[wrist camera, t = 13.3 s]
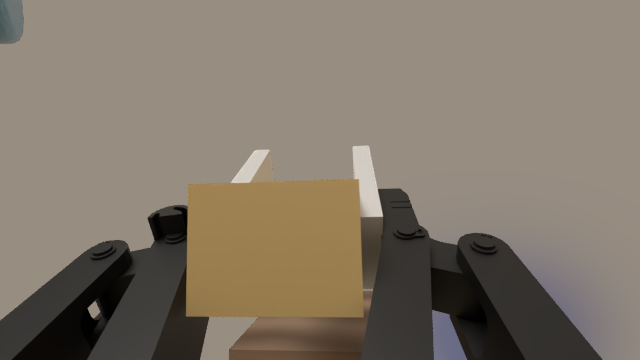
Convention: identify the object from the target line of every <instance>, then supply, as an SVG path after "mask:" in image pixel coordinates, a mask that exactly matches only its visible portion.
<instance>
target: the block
mask: <svg viewBox="0 0 640 360" xmlns="http://www.w3.org/2000/svg"><path fill="white" fill-rule="evenodd" d="M186 316H187V317H364V307H363V278H362V250H361V221H360V192H359V179H349V180H317V181H316V180H315V181H285V182H252V183H221V184H191V185H188V226H187V283H186Z"/></svg>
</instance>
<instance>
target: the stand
mask: <svg viewBox="0 0 640 360" xmlns="http://www.w3.org/2000/svg"><path fill="white" fill-rule="evenodd" d="M372 294H373V291H363V307H364V317H258V318H257V319H256V321H255V322H254V323H253V324H252V325H251V326H250V327H249V328H248V329H247V331H246V332H245V333H244V334H243V335H242V336H241V337H240V338H239V339H238V340H237V341H236V343H235V344H234V345H233V346H232V347H231V348H230V349H229V360H361V355H362V349H363V344H364V338H365V333H366V327H367V322H368V316H369V311H370V305H371V300H372Z"/></svg>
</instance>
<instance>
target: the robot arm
mask: <svg viewBox="0 0 640 360" xmlns="http://www.w3.org/2000/svg"><path fill="white" fill-rule="evenodd" d="M22 9H23V6H22V0H0V44H12V43H16V42H17V41H19V40H20V38H21V36H22V33H23V22H24V17H23V12H22ZM353 178H354V179H359V192H360V221H361V250H362V278H363V289H373V294H372V300H371V305H370V311H369V316H368V322H367V327H366V333H365V338H364V344H363V349H362V355H361V360H434V352H433V326H432V325H433V324H432V310H435V311H439V312H443V313H447V314H450V319H451V321H452V324H453V326H454V329H455V331H456V333H457V336H458V338H459V341H460V343H461V346H462V348H463V350H464V353H465V355H466V358H467V360H602V358H601V357H600V356H599V355H598V354H597V352H596V351H595V350H594V349H593V348H592V346H590V344H589V343H588V342H587V340H586V339H585V338H584V337H583V335H582V334H581V333H580V332H579V331H578V329H577V328H576V327H575V326H574V325H573V324H572V322H571V321H570V320H569V318H568V317H567V316H566V315H565V314H564V312H563V311H562V310H561V309H560V308H559V306H558V305H557V304H556V303H555V301H554V300H553V299H552V298H551V297H550V295H549V294H548V293H547V292H546V291H545V289H544V288H543V287H542V286H541V284H540V283H539V282H538V281H537V280H536V278H535V277H534V276H533V275H532V274H531V272H530V271H529V270H528V269H527V268H526V266H525V265H524V264H523V263H522V261H521V260H520V259H519V258H518V257H517V255H516V254H515V253H514V252H513V250H512V249H511V248H510V247H509V246H508V245H507V244H506V243H505V242H503V241H502V240H500V239H498V238H496V237H494V236H492V235H487V234H483V233H472V234H466V235H464V236H462V237H460V239H459V241H458V245H454V244H449V243H443V242H439V241H436V240H433V239H431V238H430V237H429V234H428V231H427V230H426V229H424V228H423V227H422V226H420V225H419V224H418V221H417V218H416V216H415V213H414V211H413V209H412V205H411V203H410V200H409V197H408V195H407V194H406V193H405V192H404V191H402V190H401V189H377V184H376V179H375V174H374V169H373V164H372V159H371V155H370V150H369V146H353ZM252 182H274V175H273V168H272V160H271V153H270V150H255V151H254V152H253V154H252V155H251V156H250V158H249V159H248V160H247V162H246V163H245V164H244V166H243V167H242V168H241V170H240V171H239V172H238V174H237V175H236V176H235V178H234V179H233V180H232V182H231V183H252ZM148 221H149V224H150V227H151V230H152V233H153V236H154V240H155V241H154V243H153V244H152V246H151V248H147V249H142V250H137V251H132V252H130V249H129V247H128V244H127V243H126V242H125V241H121V240H114V241H106V242H102V243H99V244H98V245H96V246H94V247H91V248H90V249H88V250H87V251H86V252H84V253H83V254H81V255H80V256H79V257H78V258H77V259H75V260H74V261H73V262H72V263H70V264H69V265H68V266H67V267H65V268H64V269H63V270H62V271H61V272H59V273H58V274H57V275H56V276H54V277H53V278H52V279H51V280H50V281H48V282H47V283H46V284H45V285H43V286H42V287H41V288H40V289H38V290H37V291H36V292H35V293H34V294H32V295H31V296H30V297H29V298H28V299H26V300H25V301H24V302H23V303H21V304H20V305H19V306H18V307H17V308H15V309H14V310H13V311H12V312H10V313H9V314H8V315H7V316H5V317H4V318H3V319H2V320H1V321H0V360H200V356H201V352H202V347H203V343H204V338H205V334H206V329H207V325H208V320H209V317H187V316H186V283H187V226H188V206H185V205H174V206H169V207H166V208H163V209H160V210H158V211H156V212H154V213H152V214H151V215H150V216H149V217H148ZM94 301H96V303H97V305H98V307H99V310H100V313H99V314H98V315H97V316H96V317H95V318H94V319H93V318H92V317H91V316H90V313H89V311H88V309H87V308H88V307H89V306H90V305H91V304H92V303H93V302H94Z"/></svg>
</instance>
